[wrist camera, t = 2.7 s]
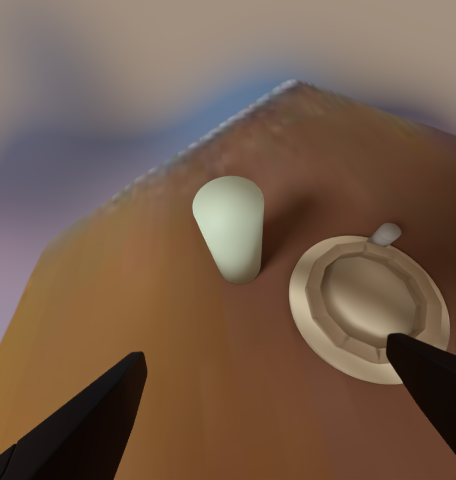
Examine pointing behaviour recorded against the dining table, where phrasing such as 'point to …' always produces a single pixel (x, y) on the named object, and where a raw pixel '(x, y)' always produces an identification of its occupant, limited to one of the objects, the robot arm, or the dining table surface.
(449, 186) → the dining table surface
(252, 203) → the post
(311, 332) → the flange plate
